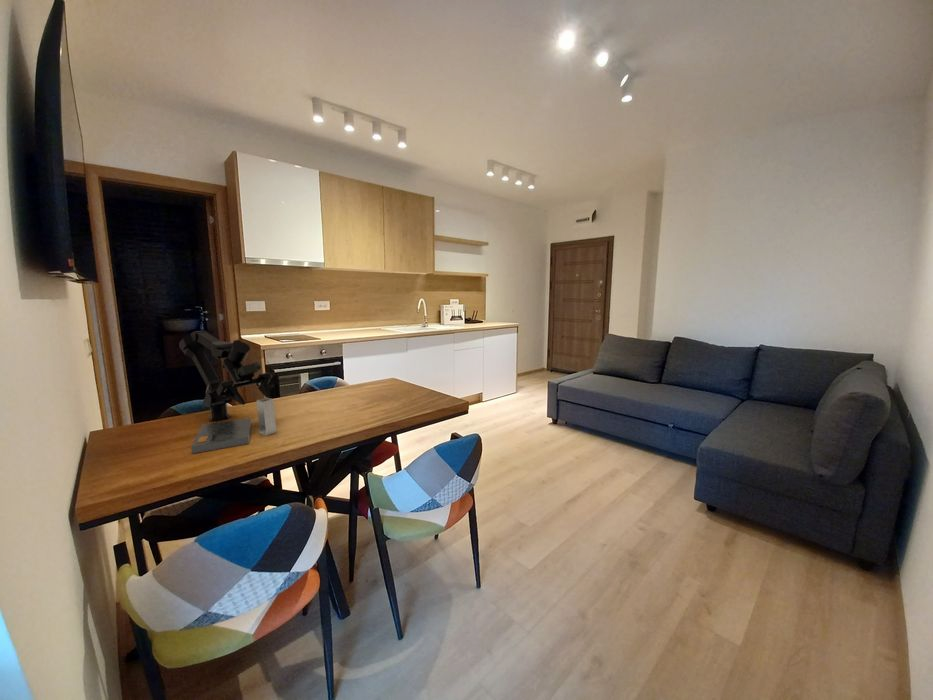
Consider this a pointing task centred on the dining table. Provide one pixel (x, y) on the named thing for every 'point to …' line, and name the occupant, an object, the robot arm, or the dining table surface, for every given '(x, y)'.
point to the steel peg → (266, 416)
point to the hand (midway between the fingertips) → (256, 400)
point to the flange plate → (222, 435)
